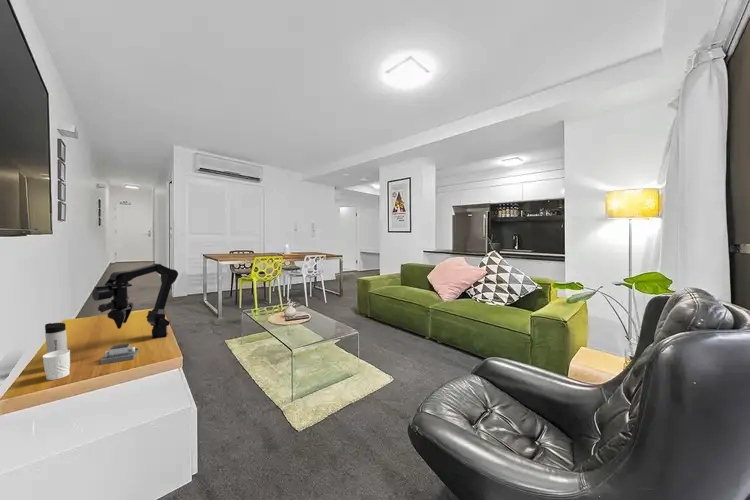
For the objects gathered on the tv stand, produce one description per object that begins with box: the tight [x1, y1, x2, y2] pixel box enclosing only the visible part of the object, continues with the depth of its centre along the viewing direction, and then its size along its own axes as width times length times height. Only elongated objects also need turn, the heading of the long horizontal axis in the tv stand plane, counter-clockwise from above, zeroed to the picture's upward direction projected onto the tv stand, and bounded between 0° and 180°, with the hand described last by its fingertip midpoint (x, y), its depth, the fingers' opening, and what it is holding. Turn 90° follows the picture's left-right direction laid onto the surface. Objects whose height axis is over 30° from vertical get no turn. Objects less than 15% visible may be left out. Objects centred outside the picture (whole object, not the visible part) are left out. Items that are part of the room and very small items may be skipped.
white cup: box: [42, 349, 71, 381], centre depth 124 cm, size 8×8×10 cm
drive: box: [108, 343, 132, 358], centre depth 142 cm, size 7×4×4 cm, turn 118°
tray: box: [100, 346, 139, 365], centre depth 142 cm, size 12×10×4 cm
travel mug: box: [44, 322, 68, 354], centre depth 132 cm, size 6×7×20 cm
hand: (122, 325), depth 152 cm, fingers open, 9 cm apart
